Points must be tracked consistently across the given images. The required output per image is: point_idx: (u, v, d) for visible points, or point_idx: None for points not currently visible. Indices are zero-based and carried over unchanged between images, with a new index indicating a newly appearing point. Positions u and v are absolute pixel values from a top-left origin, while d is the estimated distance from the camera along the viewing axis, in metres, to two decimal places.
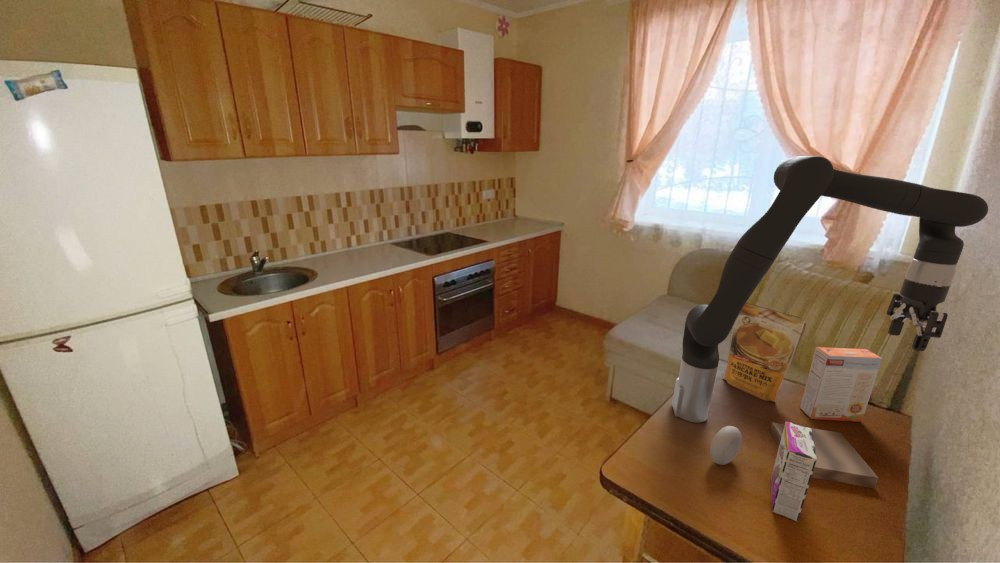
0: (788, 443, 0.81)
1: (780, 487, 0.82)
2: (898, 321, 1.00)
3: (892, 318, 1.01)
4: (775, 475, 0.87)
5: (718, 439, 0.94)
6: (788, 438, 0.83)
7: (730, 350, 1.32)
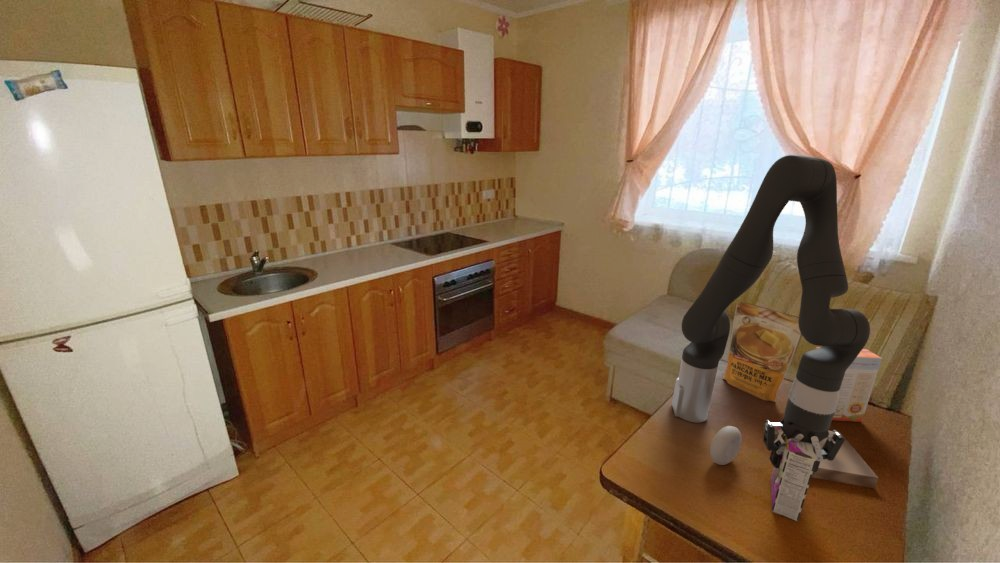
0: (788, 443, 0.81)
1: (780, 487, 0.82)
2: None
3: (780, 452, 0.83)
4: (775, 475, 0.87)
5: (718, 439, 0.94)
6: None
7: (730, 350, 1.32)
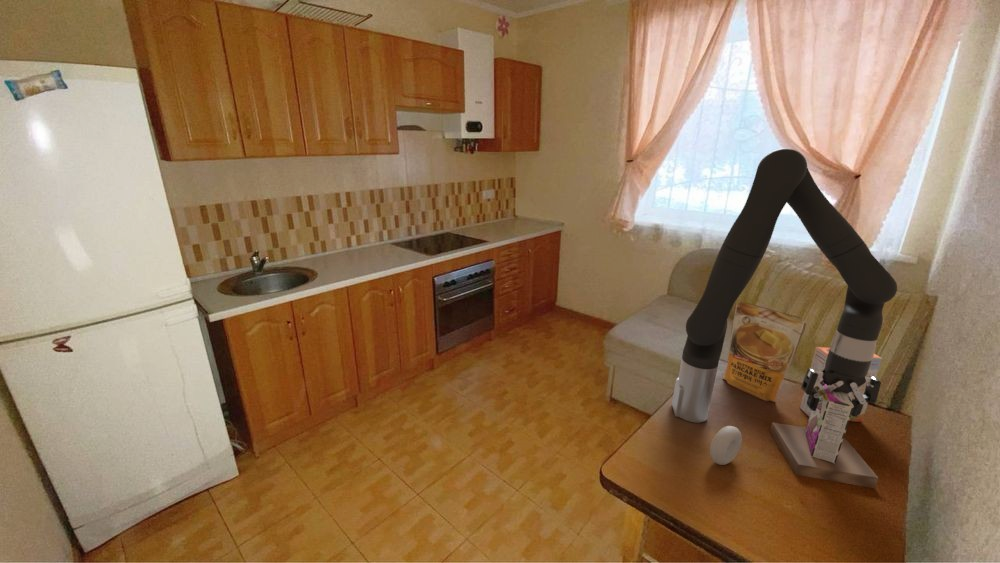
0: (826, 395, 0.93)
1: (819, 434, 0.94)
2: None
3: (817, 396, 0.94)
4: (812, 425, 0.98)
5: (718, 439, 0.94)
6: None
7: (730, 350, 1.32)
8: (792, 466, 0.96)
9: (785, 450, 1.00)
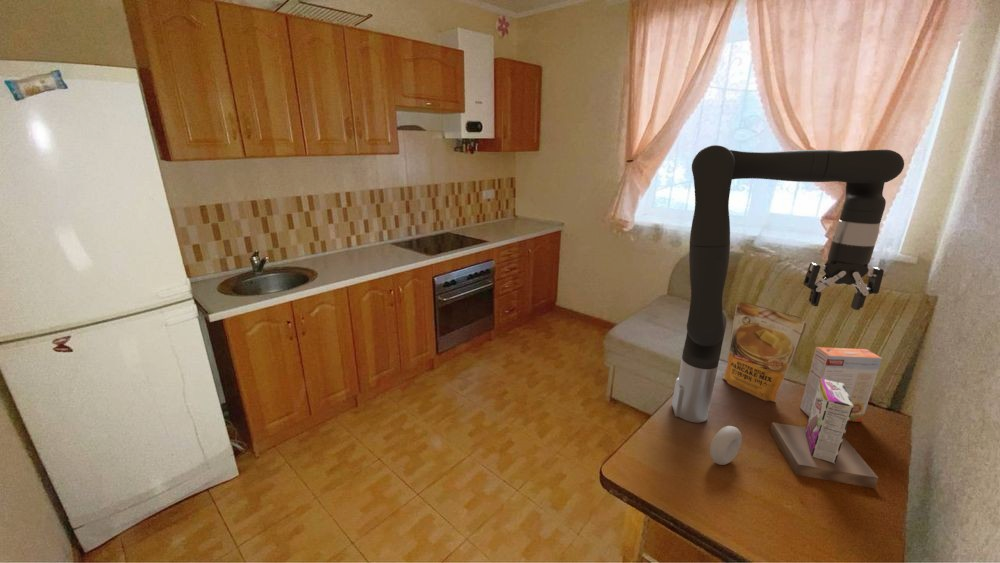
0: (826, 395, 0.93)
1: (819, 434, 0.94)
2: None
3: (820, 290, 0.94)
4: (812, 425, 0.98)
5: (718, 439, 0.94)
6: (825, 391, 0.94)
7: (730, 350, 1.32)
8: (792, 466, 0.96)
9: (785, 450, 1.00)
